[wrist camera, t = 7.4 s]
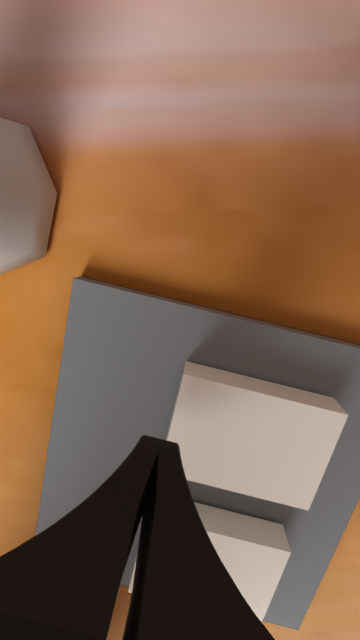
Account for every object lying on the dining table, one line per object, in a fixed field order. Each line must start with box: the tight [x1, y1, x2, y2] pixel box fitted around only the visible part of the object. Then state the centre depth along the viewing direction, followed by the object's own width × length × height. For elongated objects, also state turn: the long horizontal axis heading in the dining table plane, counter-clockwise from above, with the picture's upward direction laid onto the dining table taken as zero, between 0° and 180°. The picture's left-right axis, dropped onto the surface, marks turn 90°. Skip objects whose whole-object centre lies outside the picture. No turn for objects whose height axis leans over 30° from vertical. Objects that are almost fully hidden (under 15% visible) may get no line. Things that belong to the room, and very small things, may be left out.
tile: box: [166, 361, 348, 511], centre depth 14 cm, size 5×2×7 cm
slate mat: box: [35, 277, 360, 630], centre depth 16 cm, size 17×16×1 cm
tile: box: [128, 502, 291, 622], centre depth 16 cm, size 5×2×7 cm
